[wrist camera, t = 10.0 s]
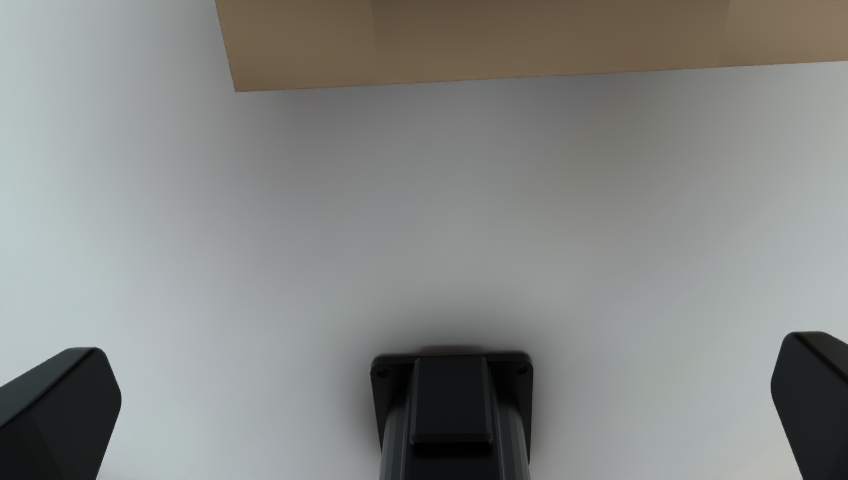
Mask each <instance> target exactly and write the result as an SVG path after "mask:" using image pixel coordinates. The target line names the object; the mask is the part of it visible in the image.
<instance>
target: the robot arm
mask: <svg viewBox="0 0 848 480" xmlns="http://www.w3.org/2000/svg"><path fill="white" fill-rule="evenodd" d="M519 365H523V366H524V367H522V368H517V367H516V366H519ZM379 369H386V370H387V371H381V370H379ZM370 375H371V382H372V389H373V396H374V404H375V411H376V418H377V425H378V432H379V439H380V446H381V453H382V458H381V467H380V476H379V480H530V473H529V464H530V440H531V415H532V389H533V365H532V360H531V358H530V357H529V356H527V355H525V354H486V355H447V356H408V357H380V358H377V359H375V360H374V361H373V362H372V365H371V372H370ZM771 394H772V399H773V402H774V404H775V407H776V410H777V412H778V415H779V417H780V420H781V423H782V425H783V428H784V431H785V433H786V436H787V438H788V441H789V444H790V446H791V449H792V452H793V454H794V457H795V460H796V462H797V465H798V467H799V470H800V473H801V475H802V478H803V480H848V344H846V343H844V342H842V341H841V340H839V339H837V338H835V337H833V336H831V335H829V334H827V333H825V332H820V331H805V332H791V333H789V334H787V335H786V336H785V338H784V340H783V342H782V345H781V348H780V352H779V355H778V358H777V362H776V365H775V368H774V372H773V375H772V378H771ZM120 408H121V392H120V389H119V386H118V384H117V381H116V379H115V376H114V374H113V371H112V369H111V366H110V364H109V361H108V359H107V356H106V354H105V353H104V352H103V351H102V350H101V349H100V348H97V347H75V348H69V349H66V350H64V351H62V352H60V353H59V354H57V355H55V356H53V357H52V358H50V359H48V360H46V361H45V362H43V363H41V364H40V365H38V366H36V367H34V368H33V369H31V370H29V371H27V372H26V373H24V374H22V375H21V376H19V377H17V378H15V379H14V380H12V381H10V382H8V383H7V384H5V385H3V386H2V387H0V480H96V477H97V474H98V472H99V469H100V466H101V463H102V460H103V457H104V455H105V452H106V449H107V446H108V443H109V440H110V437H111V435H112V432H113V429H114V426H115V423H116V420H117V418H118V415H119V412H120Z"/></svg>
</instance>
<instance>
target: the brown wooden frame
mask: <svg viewBox="0 0 848 480" xmlns="http://www.w3.org/2000/svg"><path fill="white" fill-rule="evenodd" d="M215 3H216V7H217V12H218V16H219V21H220V25H221V30H222V34H223V39H224V43H225V48H226V52H227V57H228V61H229V66H230V70H231V75H232V79H233V84H234V89H235V92H246V91H265V90H285V89H304V88H324V87H343V86H363V85H382V84H402V83H421V82H441V81H460V80H480V79H499V78H519V77H538V76H558V75H577V74H596V73H616V72H635V71H655V70H674V69H694V68H713V67H733V66H752V65H772V64H791V63H811V62H830V61H848V0H215Z"/></svg>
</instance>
